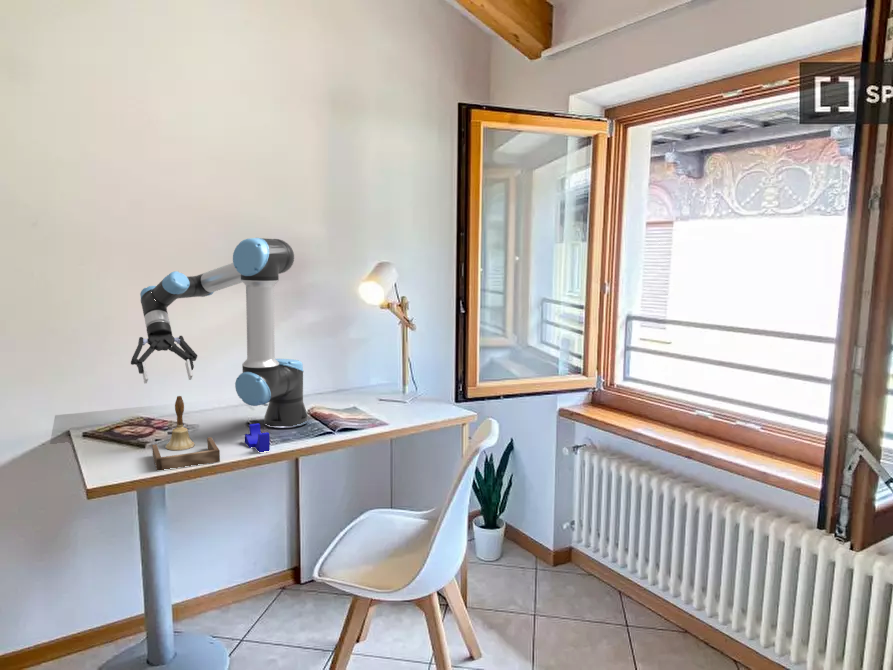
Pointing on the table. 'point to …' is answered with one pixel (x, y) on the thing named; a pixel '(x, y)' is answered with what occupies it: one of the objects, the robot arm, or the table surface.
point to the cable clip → (257, 438)
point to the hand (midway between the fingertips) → (169, 379)
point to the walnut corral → (187, 457)
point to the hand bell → (179, 430)
